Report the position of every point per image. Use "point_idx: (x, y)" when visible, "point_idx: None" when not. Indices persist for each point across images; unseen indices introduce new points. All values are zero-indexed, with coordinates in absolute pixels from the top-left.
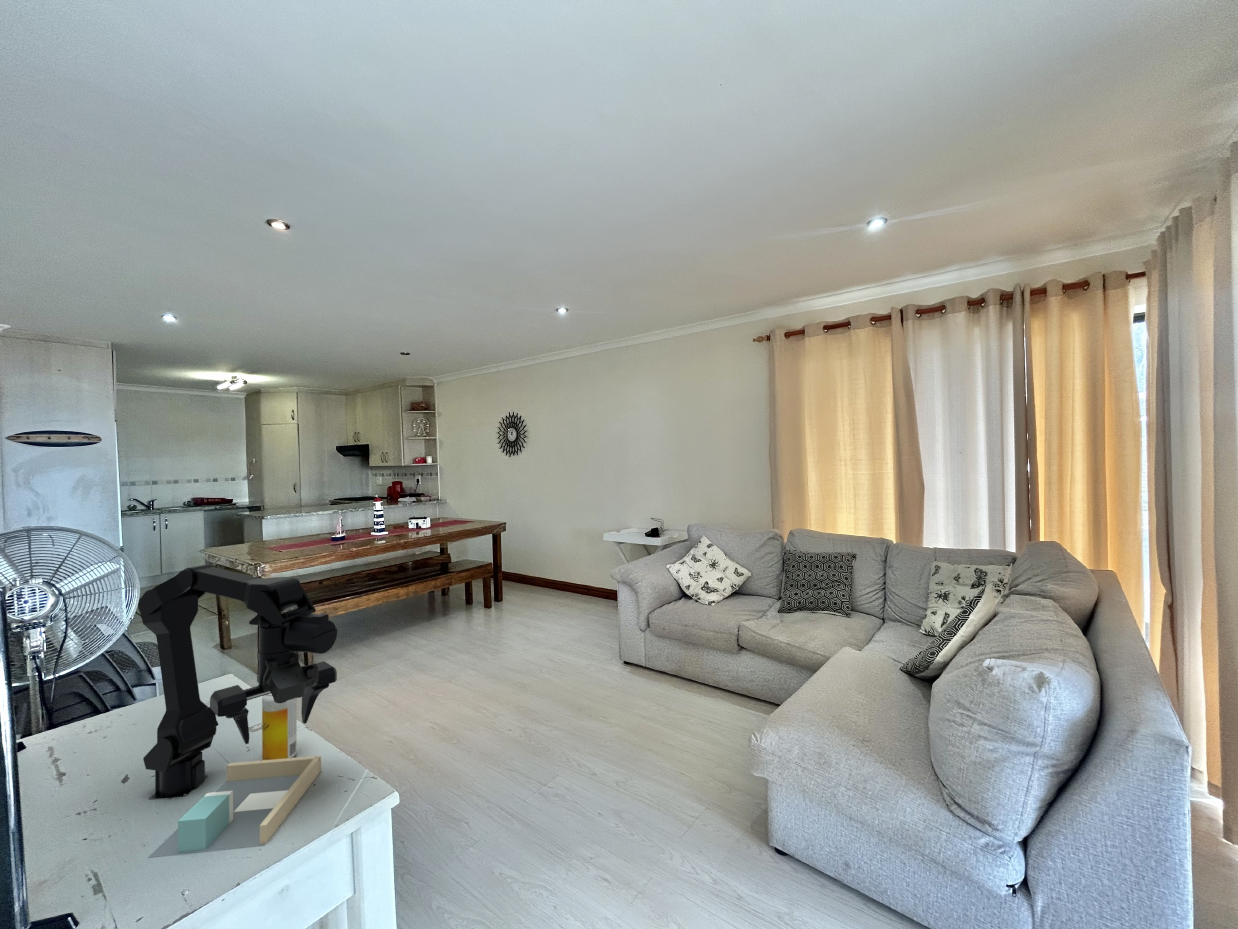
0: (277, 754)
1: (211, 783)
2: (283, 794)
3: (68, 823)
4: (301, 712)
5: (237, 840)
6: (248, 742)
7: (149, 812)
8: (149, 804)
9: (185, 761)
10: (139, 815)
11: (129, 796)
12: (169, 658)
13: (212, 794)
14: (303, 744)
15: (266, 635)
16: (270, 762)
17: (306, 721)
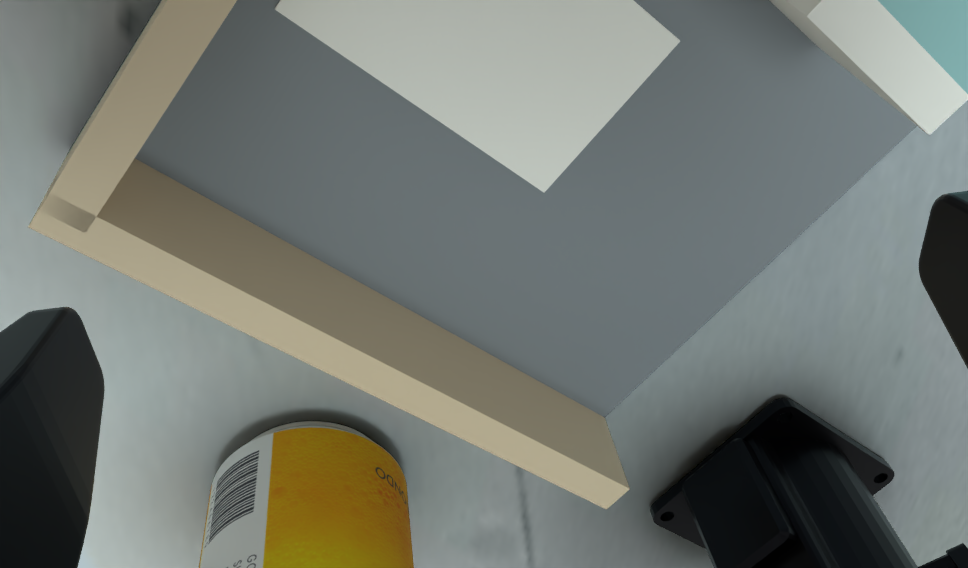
0: (335, 474)
1: (648, 457)
2: (366, 10)
3: None
4: (81, 548)
5: None
6: (956, 199)
7: (917, 382)
8: (889, 446)
9: None
10: (951, 384)
11: (906, 548)
12: None
13: (923, 78)
14: (162, 557)
15: None
16: (406, 375)
17: (24, 325)
